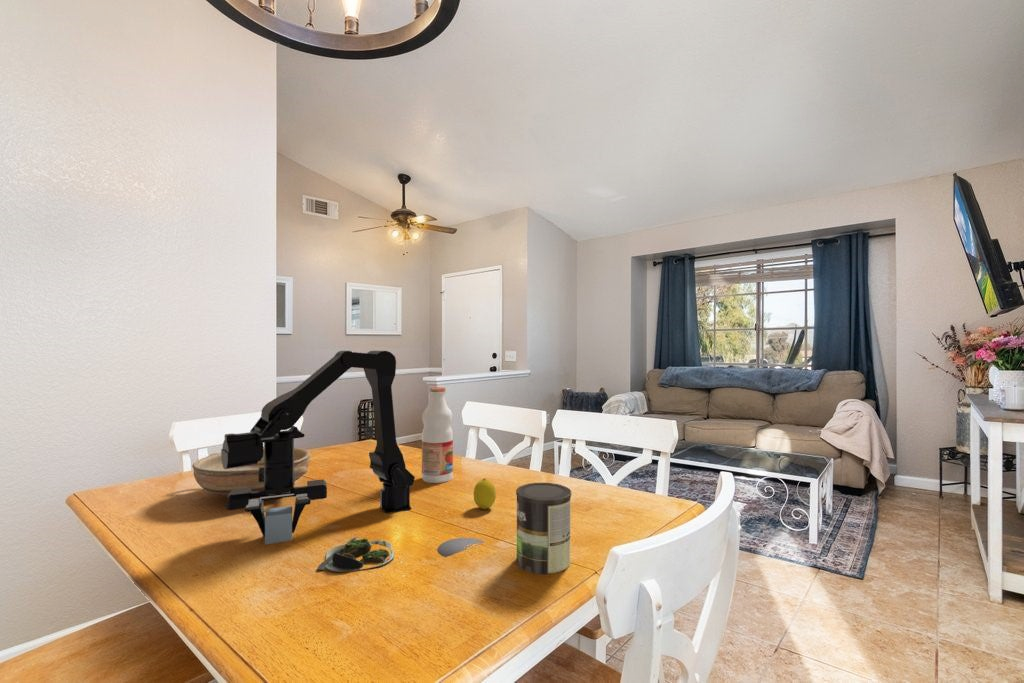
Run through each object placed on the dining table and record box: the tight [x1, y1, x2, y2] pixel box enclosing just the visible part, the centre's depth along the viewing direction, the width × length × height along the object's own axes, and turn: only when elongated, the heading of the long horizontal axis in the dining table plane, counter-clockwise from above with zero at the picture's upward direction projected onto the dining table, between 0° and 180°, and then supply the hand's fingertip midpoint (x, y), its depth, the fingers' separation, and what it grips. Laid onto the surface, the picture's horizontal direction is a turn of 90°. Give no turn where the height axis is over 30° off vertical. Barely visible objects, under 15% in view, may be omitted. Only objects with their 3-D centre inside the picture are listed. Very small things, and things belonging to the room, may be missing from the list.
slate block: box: [264, 505, 293, 545], centre depth 101 cm, size 5×5×6 cm
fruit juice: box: [421, 386, 454, 484], centre depth 145 cm, size 9×9×28 cm
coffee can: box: [515, 482, 572, 575], centre depth 89 cm, size 10×10×14 cm
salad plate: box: [317, 536, 395, 574], centre depth 92 cm, size 15×14×4 cm
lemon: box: [473, 477, 497, 510], centre depth 118 cm, size 6×6×8 cm
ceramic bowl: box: [192, 446, 311, 498], centre depth 132 cm, size 37×29×10 cm
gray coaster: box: [437, 537, 485, 558], centre depth 95 cm, size 10×10×1 cm
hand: (279, 534), depth 101 cm, fingers closed on slate block, 5 cm apart
